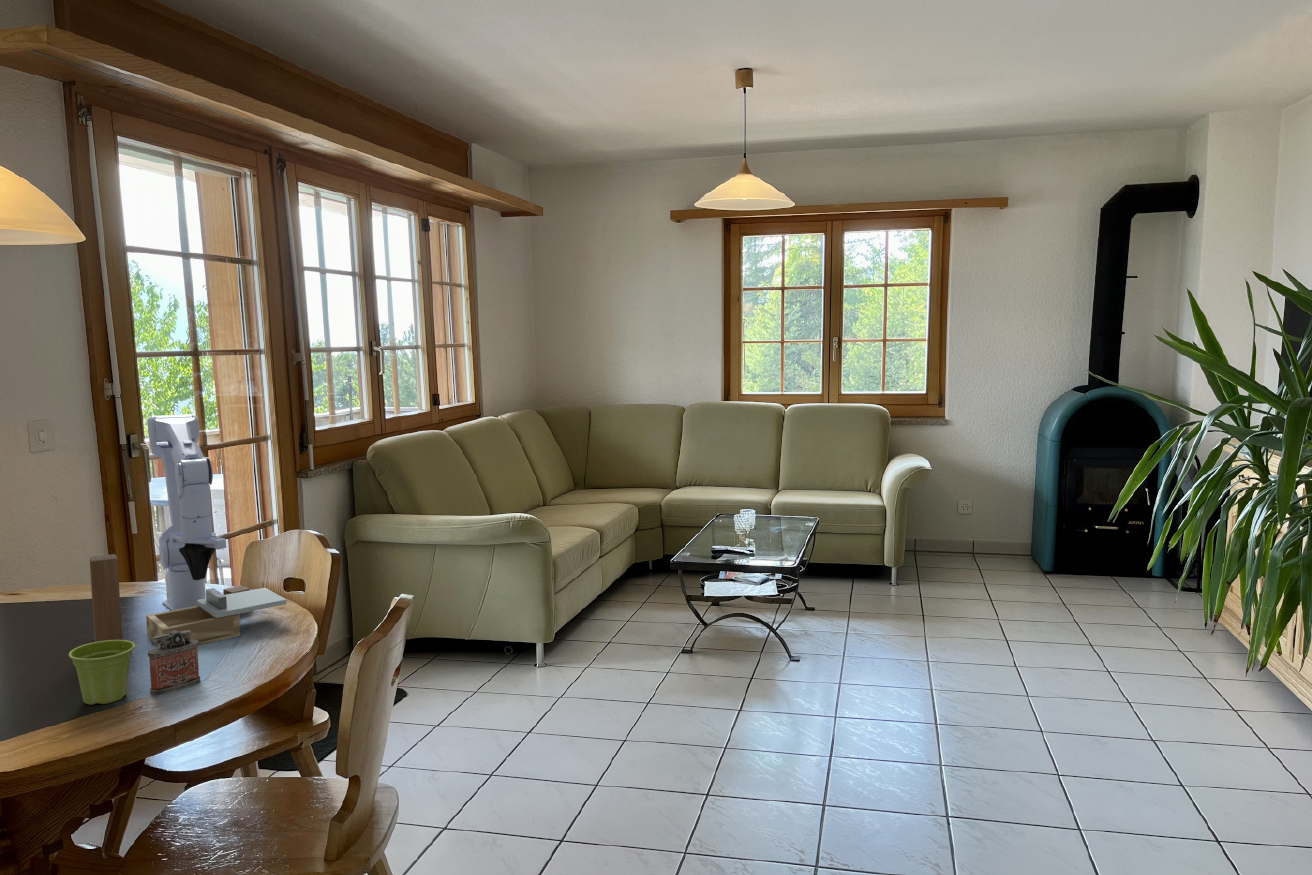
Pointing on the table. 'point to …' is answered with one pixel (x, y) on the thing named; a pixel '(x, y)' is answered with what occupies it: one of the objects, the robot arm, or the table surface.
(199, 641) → the brown piece
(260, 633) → the table surface
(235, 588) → the small brown block
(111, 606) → the wooden block
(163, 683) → the lighter
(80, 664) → the plant pot
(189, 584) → the robot arm
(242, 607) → the toolbox lid
